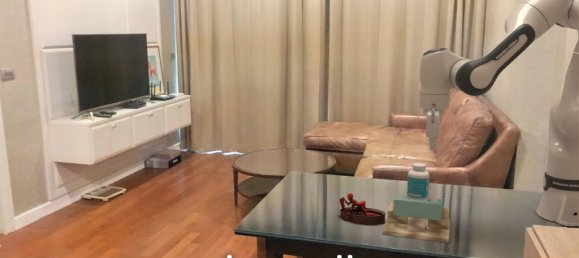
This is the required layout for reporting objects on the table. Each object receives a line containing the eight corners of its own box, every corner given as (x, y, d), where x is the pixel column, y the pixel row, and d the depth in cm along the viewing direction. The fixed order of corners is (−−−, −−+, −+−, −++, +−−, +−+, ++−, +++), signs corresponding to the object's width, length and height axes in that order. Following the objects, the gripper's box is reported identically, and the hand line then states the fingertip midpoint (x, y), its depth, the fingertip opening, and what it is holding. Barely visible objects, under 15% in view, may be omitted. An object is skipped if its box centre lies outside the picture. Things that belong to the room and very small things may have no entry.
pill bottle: (430, 204, 170) (432, 167, 168) (409, 204, 171) (411, 167, 168) (424, 197, 178) (426, 161, 175) (404, 197, 178) (406, 161, 175)
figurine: (337, 225, 153) (337, 191, 156) (340, 226, 162) (340, 194, 165) (385, 226, 150) (385, 192, 153) (385, 227, 159) (385, 195, 162)
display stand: (449, 222, 154) (450, 207, 153) (448, 243, 139) (449, 226, 138) (389, 215, 160) (390, 200, 159) (382, 234, 146) (383, 218, 145)
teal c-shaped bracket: (442, 207, 154) (443, 192, 153) (441, 220, 143) (442, 204, 142) (397, 202, 158) (398, 187, 157) (393, 215, 147) (393, 199, 146)
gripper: (444, 107, 136) (443, 155, 139) (445, 98, 156) (444, 139, 158) (421, 107, 138) (420, 154, 141) (425, 97, 157) (424, 139, 160)
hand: (433, 146), depth 150 cm, fingers open, 8 cm apart
